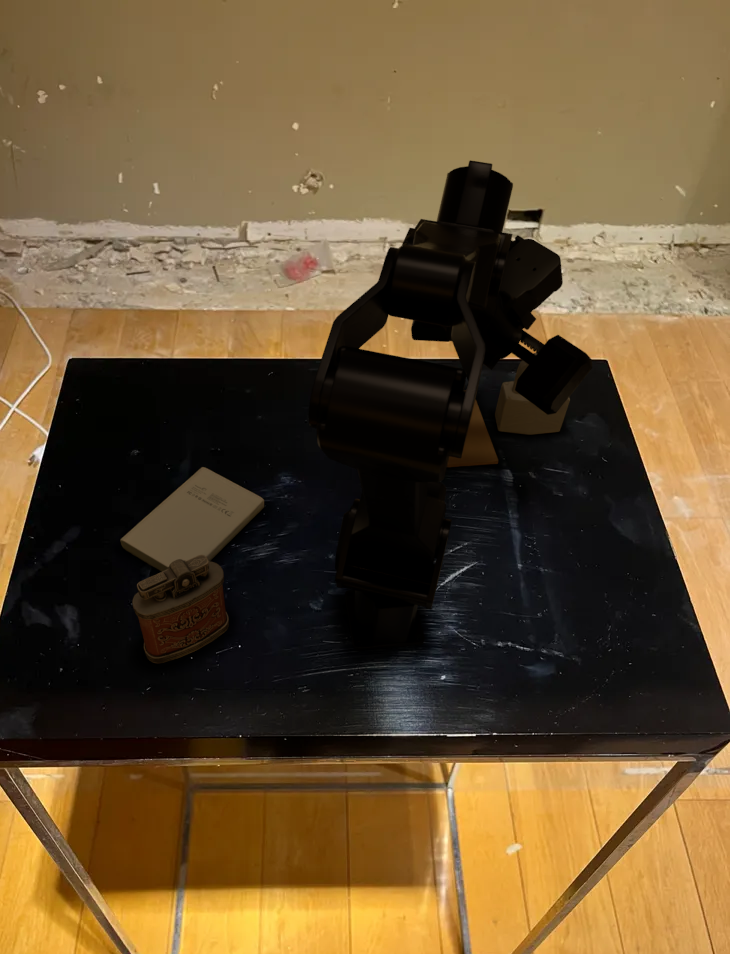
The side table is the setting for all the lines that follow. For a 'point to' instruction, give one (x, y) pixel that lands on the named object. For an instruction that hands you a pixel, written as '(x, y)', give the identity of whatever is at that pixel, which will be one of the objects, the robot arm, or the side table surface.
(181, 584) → the lighter
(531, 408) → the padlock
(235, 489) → the hard drive
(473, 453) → the board
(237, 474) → the side table surface
